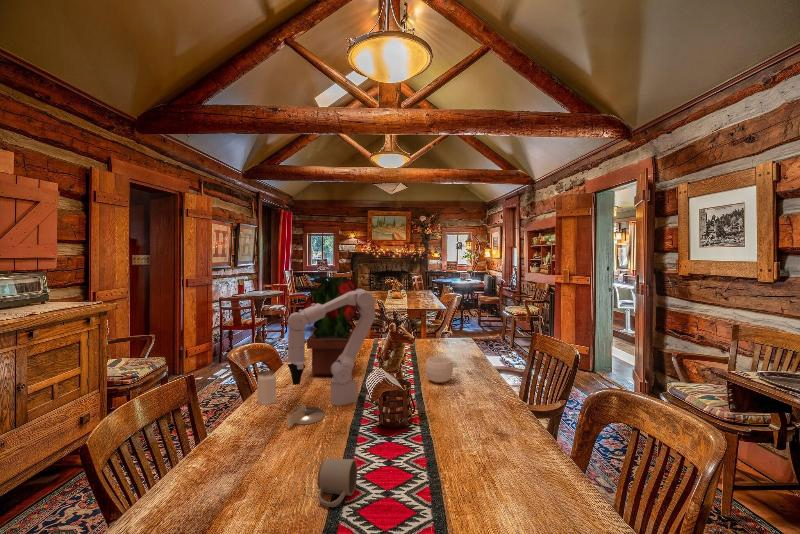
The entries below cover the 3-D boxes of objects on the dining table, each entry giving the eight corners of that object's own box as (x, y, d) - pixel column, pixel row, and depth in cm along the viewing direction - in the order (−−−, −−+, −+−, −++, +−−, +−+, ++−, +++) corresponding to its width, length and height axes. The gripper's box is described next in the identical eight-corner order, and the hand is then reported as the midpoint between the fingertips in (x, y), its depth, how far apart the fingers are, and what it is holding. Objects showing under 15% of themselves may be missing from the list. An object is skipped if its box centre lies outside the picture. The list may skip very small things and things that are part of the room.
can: (270, 408, 146) (270, 376, 145) (254, 407, 147) (254, 374, 147) (279, 402, 152) (279, 370, 152) (263, 400, 154) (263, 369, 153)
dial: (300, 408, 144) (300, 394, 143) (330, 413, 140) (330, 398, 139) (272, 426, 128) (272, 410, 128) (305, 432, 125) (305, 416, 124)
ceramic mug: (326, 480, 101) (326, 450, 101) (357, 483, 100) (358, 453, 100) (310, 507, 91) (310, 474, 90) (345, 511, 90) (345, 478, 89)
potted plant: (356, 366, 202) (358, 276, 200) (353, 380, 179) (354, 279, 178) (312, 365, 201) (313, 275, 199) (303, 380, 179) (303, 278, 177)
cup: (421, 384, 176) (421, 362, 175) (429, 376, 187) (429, 355, 187) (448, 387, 171) (449, 365, 171) (455, 379, 183) (456, 358, 183)
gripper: (281, 343, 149) (281, 379, 150) (288, 352, 136) (288, 391, 137) (300, 341, 152) (300, 377, 153) (309, 350, 139) (309, 389, 140)
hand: (296, 383), depth 145 cm, fingers closed
